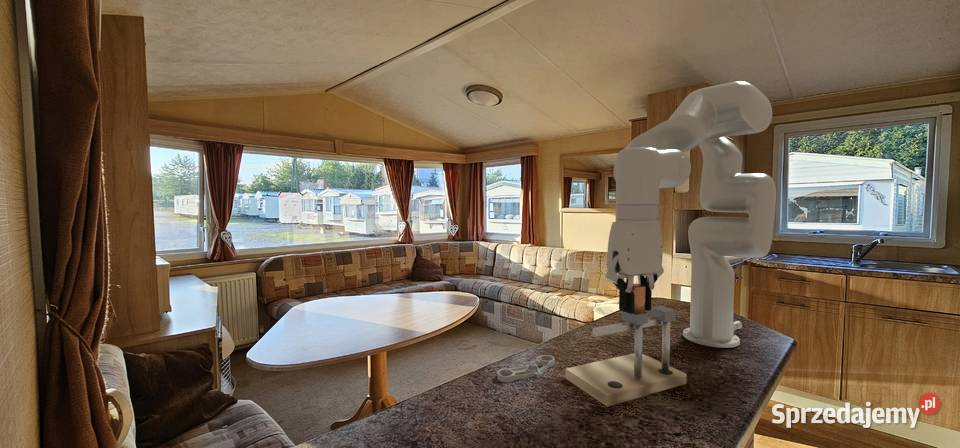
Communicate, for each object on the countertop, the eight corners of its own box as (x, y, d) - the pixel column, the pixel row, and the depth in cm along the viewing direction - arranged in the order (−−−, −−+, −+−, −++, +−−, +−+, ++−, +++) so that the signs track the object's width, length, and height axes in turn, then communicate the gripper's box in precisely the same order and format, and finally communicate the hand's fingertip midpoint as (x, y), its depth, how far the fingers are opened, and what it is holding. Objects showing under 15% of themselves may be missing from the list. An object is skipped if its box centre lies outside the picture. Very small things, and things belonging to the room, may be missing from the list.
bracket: (488, 363, 83) (549, 352, 88) (488, 372, 83) (549, 360, 89) (502, 378, 76) (568, 365, 81) (502, 388, 76) (568, 374, 82)
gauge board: (638, 360, 87) (638, 351, 87) (686, 383, 76) (686, 373, 76) (565, 378, 79) (565, 368, 79) (607, 406, 68) (607, 395, 68)
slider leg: (633, 369, 77) (635, 282, 76) (648, 376, 74) (650, 286, 73) (619, 372, 76) (621, 284, 75) (634, 380, 73) (635, 288, 72)
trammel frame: (660, 364, 81) (662, 305, 80) (675, 371, 77) (677, 309, 76) (589, 382, 73) (590, 317, 72) (603, 390, 70) (604, 322, 69)
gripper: (652, 213, 80) (650, 300, 81) (588, 214, 73) (587, 310, 74) (685, 214, 73) (682, 310, 74) (617, 216, 66) (616, 322, 67)
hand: (634, 309), depth 74 cm, fingers closed on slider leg, 3 cm apart
